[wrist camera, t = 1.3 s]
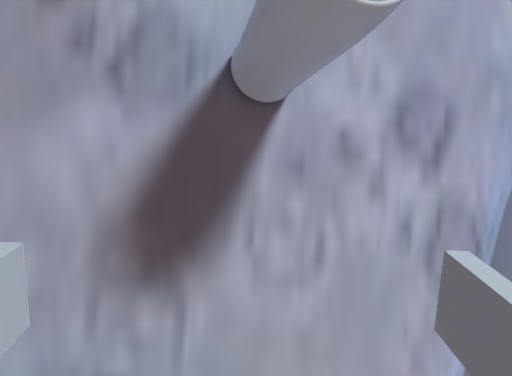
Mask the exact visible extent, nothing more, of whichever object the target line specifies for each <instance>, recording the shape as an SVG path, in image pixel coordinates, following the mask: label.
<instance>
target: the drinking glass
mask: <svg viewBox="0 0 512 376" xmlns="http://www.w3.org/2000/svg"><path fill="white" fill-rule="evenodd" d="M402 1H403V0H256V3H255V5H254V8H253V10H252V13H251V15H250V18H249V20H248V23H247V25H246V28H245V30H244V32H243V35H242V37H241V40H240V42H239V43H238V45H237V47H236V49H235V51H234V53H233V55H232V59H231V72H232V76H233V79H234V81H235V83H236V85H237V86H238V88H239V89H240V90H241V91H242V92H243V93H244V94H245V95H246V96H248V97H249V98H251V99H253V100H256V101H259V102H265V103H270V102H276V101H279V100H281V99H283V98H285V97H286V96H287V95H288V94H290V93H291V92H292V91H293V90H294V89H295V88H296V87H297V86H299V85H300V84H301V83H303V82H304V81H305V80H307V79H308V78H309V77H311V76H312V75H314V74H315V73H316V72H318V71H319V70H321V69H322V68H323V67H325V66H326V65H328V64H329V63H330V62H332V61H333V60H335V59H336V58H337V57H339V56H340V55H342V54H343V53H344V52H346V51H347V50H349V49H350V48H351V47H353V46H354V45H355V44H357V43H358V42H359V41H361V40H362V39H363V38H364V37H366V36H367V35H368V34H369V33H370V32H371V31H373V30H374V29H375V28H376V27H377V26H378V25H379V24H380V23H381V22H382V21H384V20H385V19H386V18H387V17H388V16H389V15H390V14H391V13H392V12H393V11H394V10H395V9H396V7H397V6H398V5H399V4H400V3H401V2H402Z"/></svg>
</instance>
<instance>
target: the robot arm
mask: <svg viewBox="0 0 512 376" xmlns="http://www.w3.org/2000/svg"><path fill="white" fill-rule="evenodd" d="M29 325H30V319H29V307H28V295H27V282H26V270H25V257H24V245H23V243H17V242H0V358H1V357H2V356H3V355H4V354H5V353H6V352H7V350H8V349H9V348H10V347H11V346H12V345H13V344H14V342H15V341H16V340H17V339H18V338H19V337H20V336H21V334H22V333H23V332H24V331H25V330H26V329H27V328H28V326H29ZM434 330H435V331H436V332H437V333H438V335H439V336H440V337H441V338H442V340H443V341H444V342H445V343H446V345H447V346H448V347H449V348H450V349H451V351H452V352H453V353H454V354H455V356H456V357H457V358H458V359H459V361H460V362H461V363H462V364H463V366H464V367H465V368H466V369H467V371H468V372H469V373H470V374H471V376H512V282H511V281H509V280H508V279H506V278H505V277H504V276H502V275H501V274H499V273H498V272H497V271H495V270H494V269H492V268H491V267H490V266H488V265H487V264H485V263H484V262H483V261H481V260H480V259H478V258H477V257H476V256H474V255H473V254H472V253H470V252H469V251H444V259H443V266H442V274H441V282H440V290H439V297H438V305H437V313H436V321H435V328H434Z"/></svg>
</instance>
